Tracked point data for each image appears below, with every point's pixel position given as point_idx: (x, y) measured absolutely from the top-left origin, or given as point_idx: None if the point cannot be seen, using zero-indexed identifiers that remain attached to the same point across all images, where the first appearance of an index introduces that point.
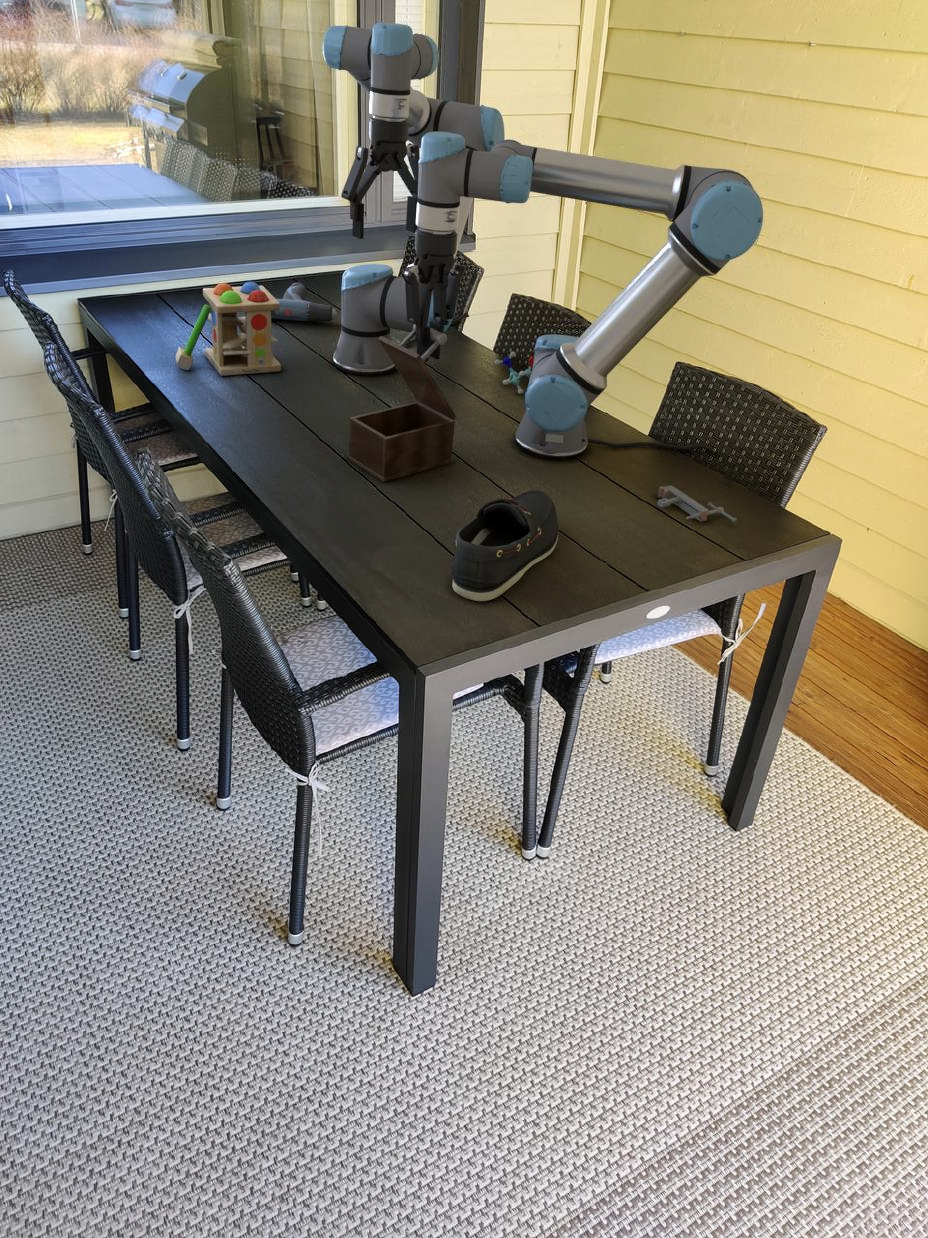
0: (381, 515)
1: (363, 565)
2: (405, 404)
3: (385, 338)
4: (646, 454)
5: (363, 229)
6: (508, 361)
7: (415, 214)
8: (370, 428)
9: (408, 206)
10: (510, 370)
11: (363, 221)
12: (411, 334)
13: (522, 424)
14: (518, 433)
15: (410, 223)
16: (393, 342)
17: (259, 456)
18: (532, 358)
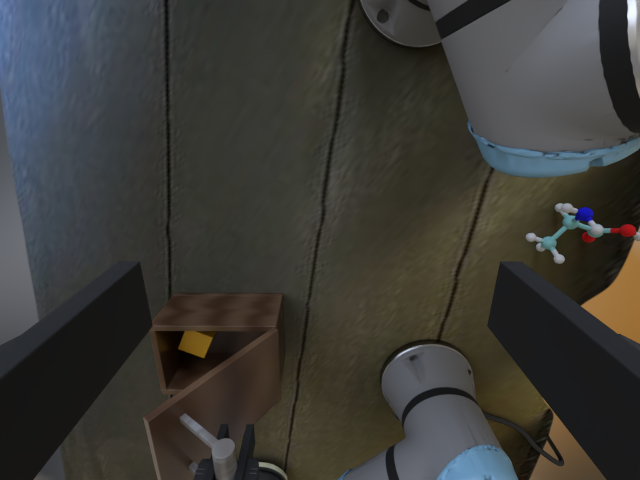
0: (146, 400)
1: (90, 449)
2: (251, 327)
3: (149, 432)
4: (495, 435)
5: (128, 356)
6: (581, 220)
7: (546, 398)
8: (158, 364)
9: (590, 362)
10: (572, 219)
11: (99, 390)
12: (207, 444)
13: (397, 380)
14: (391, 369)
15: (513, 320)
16: (154, 452)
17: (68, 230)
18: (627, 234)
